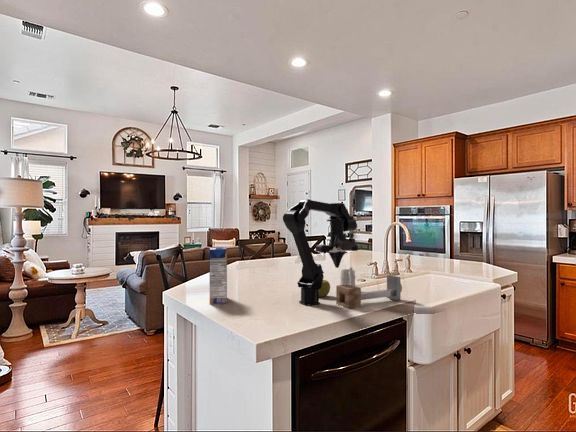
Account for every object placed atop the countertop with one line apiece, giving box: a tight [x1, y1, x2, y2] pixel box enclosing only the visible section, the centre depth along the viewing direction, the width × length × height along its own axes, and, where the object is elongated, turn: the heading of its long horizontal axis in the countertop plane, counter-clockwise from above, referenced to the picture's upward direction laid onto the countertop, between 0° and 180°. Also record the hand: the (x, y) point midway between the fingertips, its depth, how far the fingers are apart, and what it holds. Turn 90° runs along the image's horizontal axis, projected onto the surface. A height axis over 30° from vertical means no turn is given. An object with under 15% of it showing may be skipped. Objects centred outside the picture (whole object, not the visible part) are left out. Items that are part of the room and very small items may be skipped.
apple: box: [318, 279, 331, 298], centre depth 157 cm, size 8×8×7 cm
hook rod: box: [361, 274, 403, 301], centre depth 147 cm, size 24×6×10 cm, turn 116°
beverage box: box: [209, 246, 228, 305], centre depth 150 cm, size 7×11×22 cm, turn 11°
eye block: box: [335, 284, 362, 309], centre depth 141 cm, size 6×8×8 cm
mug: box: [340, 266, 356, 286], centre depth 168 cm, size 8×12×12 cm, turn 5°
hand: (337, 267), depth 155 cm, fingers closed
